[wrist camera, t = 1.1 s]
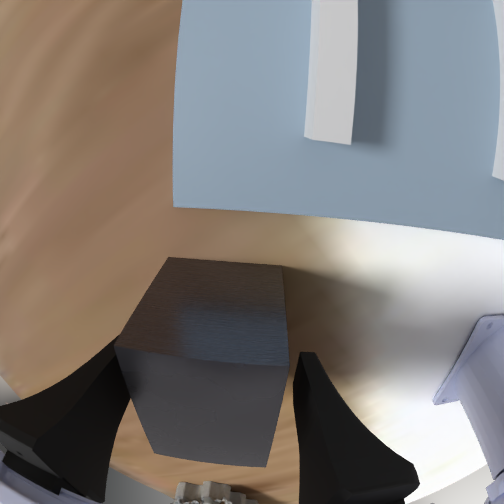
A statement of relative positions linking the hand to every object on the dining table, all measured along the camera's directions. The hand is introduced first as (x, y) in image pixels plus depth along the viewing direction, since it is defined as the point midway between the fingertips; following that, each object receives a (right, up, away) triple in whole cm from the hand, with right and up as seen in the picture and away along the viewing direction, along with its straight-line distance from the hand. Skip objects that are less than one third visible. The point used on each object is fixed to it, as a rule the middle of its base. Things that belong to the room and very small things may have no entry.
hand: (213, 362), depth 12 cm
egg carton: (-2, -24, +15) cm, 28 cm away
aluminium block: (0, +1, +3) cm, 3 cm away
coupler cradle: (+9, +13, -4) cm, 16 cm away
